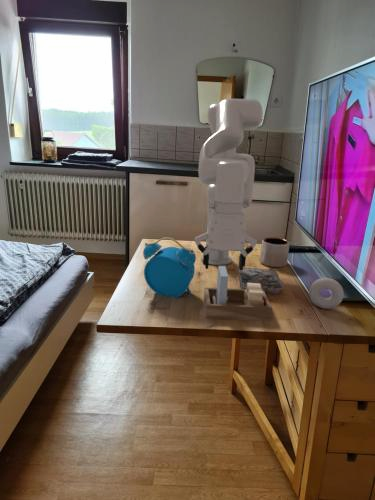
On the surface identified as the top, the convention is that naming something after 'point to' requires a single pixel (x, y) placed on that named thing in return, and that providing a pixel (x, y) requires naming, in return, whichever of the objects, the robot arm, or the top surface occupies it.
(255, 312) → the rack
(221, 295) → the light blue flat box
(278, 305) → the top surface
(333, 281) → the tape roll
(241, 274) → the rock
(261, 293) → the offcut top
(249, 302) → the block
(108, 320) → the top surface
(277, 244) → the planter
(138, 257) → the top surface
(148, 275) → the alarm clock
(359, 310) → the top surface
